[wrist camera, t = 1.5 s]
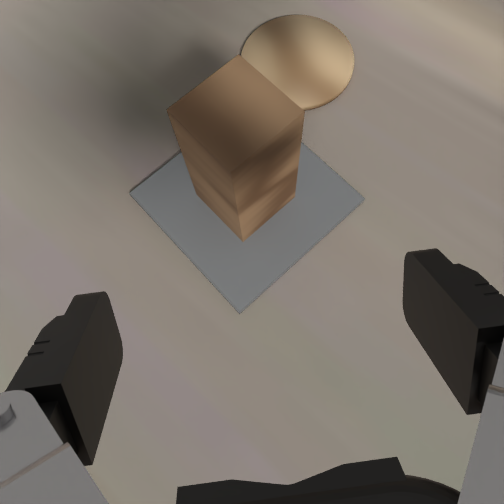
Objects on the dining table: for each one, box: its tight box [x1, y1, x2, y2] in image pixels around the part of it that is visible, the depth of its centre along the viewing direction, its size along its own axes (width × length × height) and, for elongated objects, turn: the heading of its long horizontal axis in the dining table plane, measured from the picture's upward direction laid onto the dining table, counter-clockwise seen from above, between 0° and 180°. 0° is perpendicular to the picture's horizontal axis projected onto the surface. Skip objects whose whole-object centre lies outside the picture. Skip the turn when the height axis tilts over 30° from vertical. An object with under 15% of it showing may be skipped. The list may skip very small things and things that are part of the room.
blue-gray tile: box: [129, 142, 365, 314], centre depth 33 cm, size 12×12×1 cm
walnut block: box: [166, 54, 305, 242], centre depth 28 cm, size 5×5×10 cm
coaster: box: [241, 15, 354, 111], centre depth 36 cm, size 9×9×1 cm
